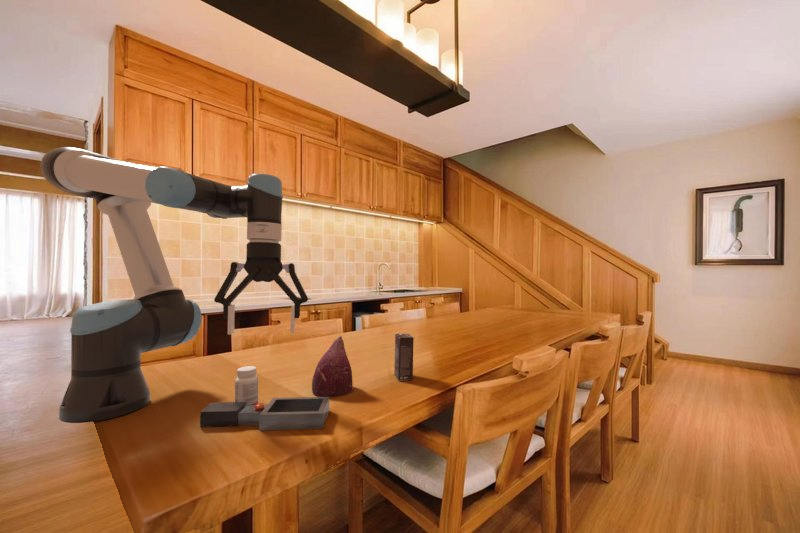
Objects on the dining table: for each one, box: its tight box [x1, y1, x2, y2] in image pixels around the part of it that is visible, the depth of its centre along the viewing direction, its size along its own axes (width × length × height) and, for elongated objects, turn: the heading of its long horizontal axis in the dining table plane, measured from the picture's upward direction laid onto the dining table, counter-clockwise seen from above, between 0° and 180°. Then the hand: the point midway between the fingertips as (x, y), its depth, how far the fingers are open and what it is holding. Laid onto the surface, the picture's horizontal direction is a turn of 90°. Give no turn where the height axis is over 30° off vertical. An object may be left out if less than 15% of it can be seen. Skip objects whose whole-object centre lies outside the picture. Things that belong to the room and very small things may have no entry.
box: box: [393, 333, 414, 382], centre depth 97 cm, size 6×4×12 cm
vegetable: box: [311, 335, 354, 398], centre depth 89 cm, size 10×10×15 cm
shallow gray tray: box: [199, 396, 330, 431], centre depth 70 cm, size 24×8×3 cm, turn 94°
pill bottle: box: [234, 365, 259, 405], centre depth 77 cm, size 5×5×8 cm
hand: (262, 332), depth 80 cm, fingers open, 13 cm apart
